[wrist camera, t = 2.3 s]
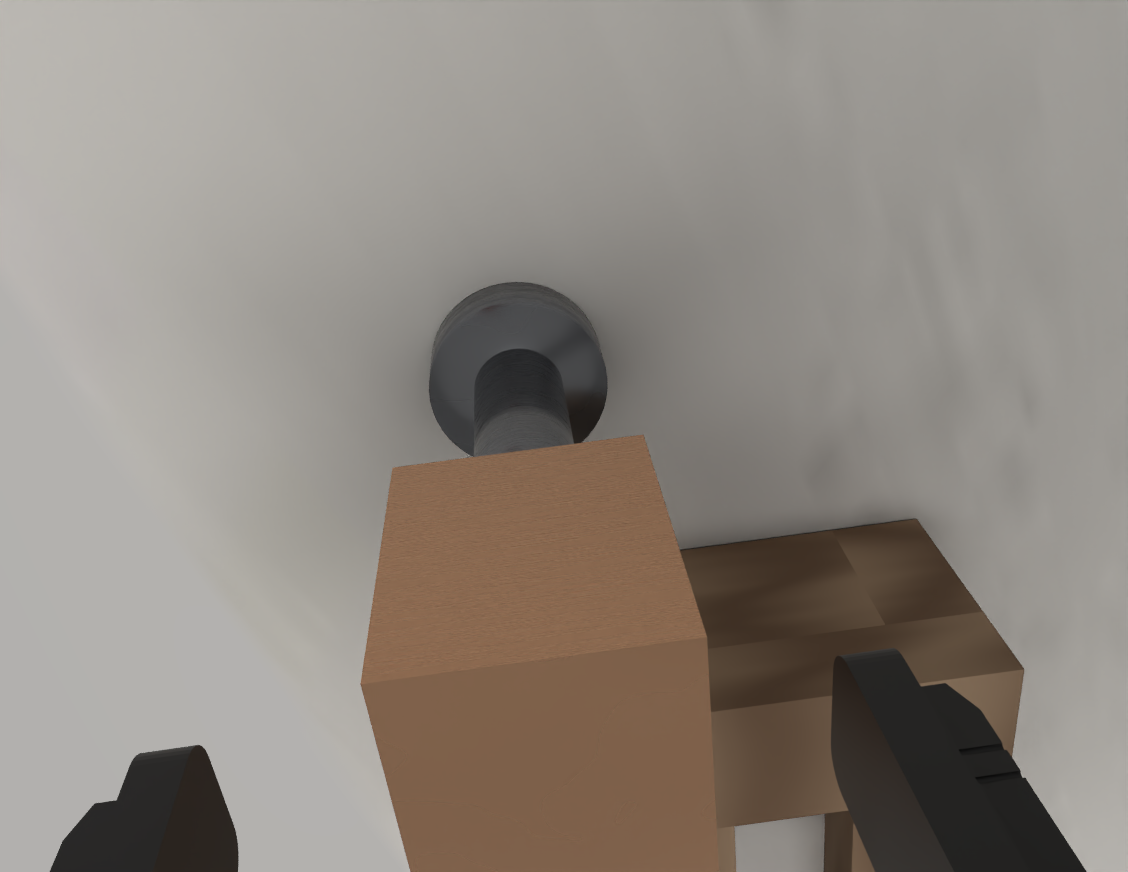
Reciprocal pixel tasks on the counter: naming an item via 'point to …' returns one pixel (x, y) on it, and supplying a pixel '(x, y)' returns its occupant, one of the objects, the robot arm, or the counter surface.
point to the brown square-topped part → (537, 620)
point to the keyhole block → (827, 662)
